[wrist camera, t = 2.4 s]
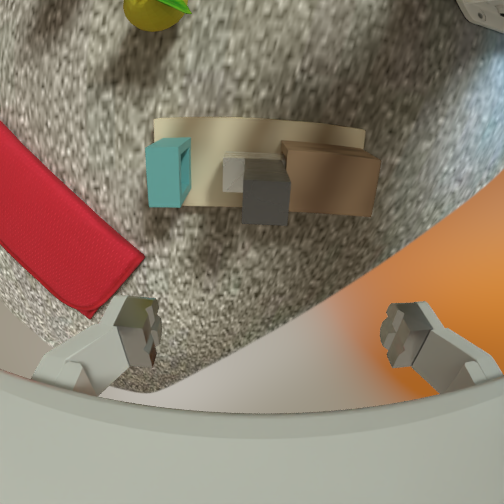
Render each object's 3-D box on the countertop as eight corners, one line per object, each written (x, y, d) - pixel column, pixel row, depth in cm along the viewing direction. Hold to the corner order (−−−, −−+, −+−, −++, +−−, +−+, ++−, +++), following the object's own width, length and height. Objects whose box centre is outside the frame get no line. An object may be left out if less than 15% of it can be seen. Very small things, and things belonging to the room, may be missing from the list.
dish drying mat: (93, 314, 41) (84, 331, 38) (-63, 153, 27) (-77, 160, 24) (148, 251, 36) (139, 267, 33) (-35, 70, 21) (-52, 73, 18)
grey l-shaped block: (358, 161, 27) (401, 192, 19) (354, 190, 29) (392, 231, 21) (225, 151, 27) (214, 178, 19) (225, 182, 29) (214, 222, 20)
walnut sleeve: (360, 148, 28) (381, 160, 23) (353, 196, 31) (371, 217, 26) (281, 140, 28) (287, 150, 23) (277, 191, 30) (282, 211, 26)
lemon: (127, 5, 21) (82, -20, 13) (178, -22, 20) (150, -61, 12) (151, 52, 24) (110, 38, 16) (204, 24, 23) (183, -5, 15)
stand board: (360, 128, 28) (365, 130, 27) (349, 208, 33) (353, 213, 32) (158, 118, 28) (153, 119, 27) (161, 200, 32) (157, 205, 31)
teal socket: (190, 137, 28) (178, 147, 23) (191, 188, 30) (180, 207, 25) (162, 137, 28) (145, 147, 23) (164, 187, 30) (149, 207, 25)
